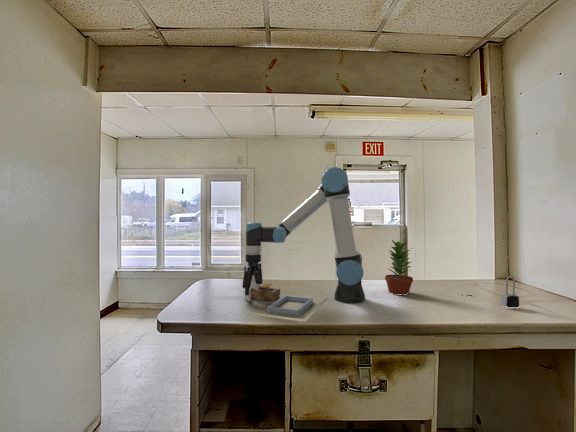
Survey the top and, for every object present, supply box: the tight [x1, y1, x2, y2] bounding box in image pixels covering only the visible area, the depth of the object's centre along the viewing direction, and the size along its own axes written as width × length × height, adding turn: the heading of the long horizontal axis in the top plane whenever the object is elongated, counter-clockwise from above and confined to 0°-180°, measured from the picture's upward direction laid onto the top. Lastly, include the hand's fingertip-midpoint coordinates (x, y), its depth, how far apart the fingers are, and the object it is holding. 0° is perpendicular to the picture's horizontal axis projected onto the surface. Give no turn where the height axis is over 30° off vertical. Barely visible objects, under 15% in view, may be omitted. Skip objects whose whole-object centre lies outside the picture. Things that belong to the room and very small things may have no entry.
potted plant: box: [384, 239, 414, 295], centre depth 172 cm, size 15×15×30 cm
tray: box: [266, 295, 314, 319], centre depth 139 cm, size 14×21×3 cm, turn 159°
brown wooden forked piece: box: [250, 286, 281, 303], centre depth 152 cm, size 16×7×5 cm, turn 69°
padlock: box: [500, 275, 520, 307], centre depth 146 cm, size 7×4×15 cm, turn 93°
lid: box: [253, 281, 273, 304], centre depth 151 cm, size 13×13×9 cm
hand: (252, 299), depth 154 cm, fingers open, 9 cm apart
